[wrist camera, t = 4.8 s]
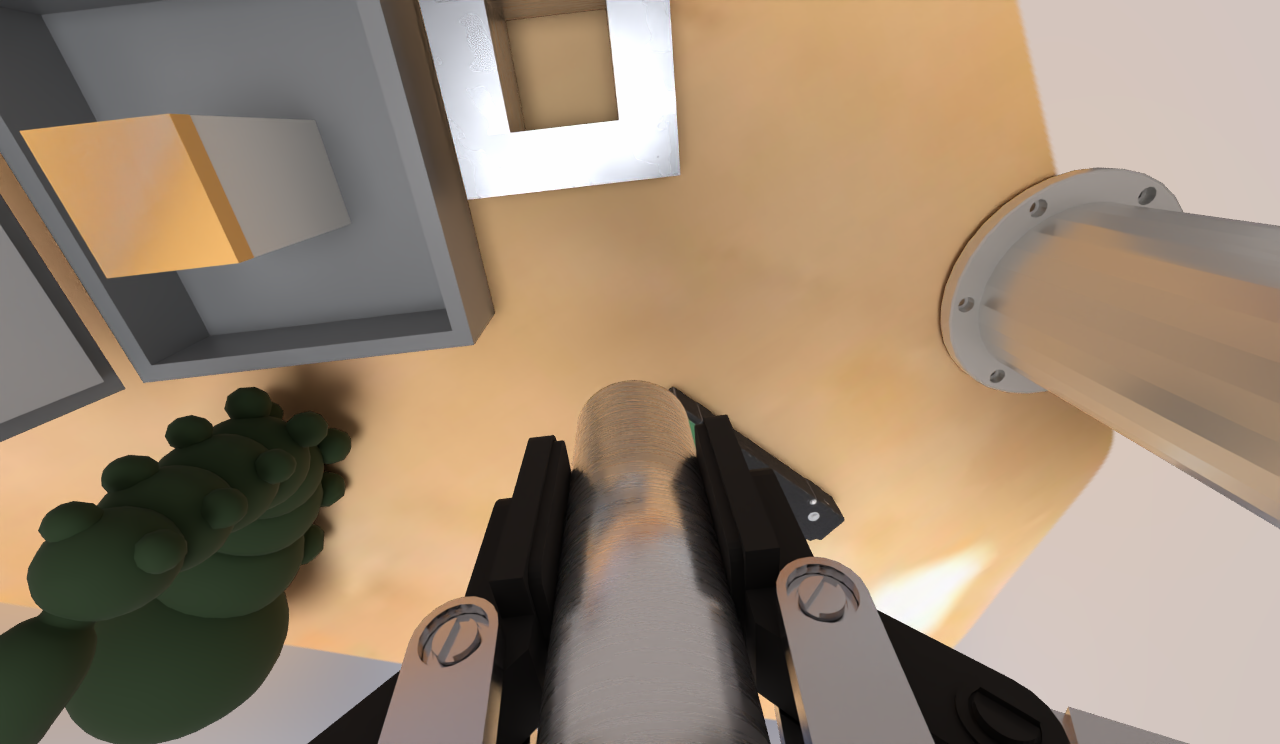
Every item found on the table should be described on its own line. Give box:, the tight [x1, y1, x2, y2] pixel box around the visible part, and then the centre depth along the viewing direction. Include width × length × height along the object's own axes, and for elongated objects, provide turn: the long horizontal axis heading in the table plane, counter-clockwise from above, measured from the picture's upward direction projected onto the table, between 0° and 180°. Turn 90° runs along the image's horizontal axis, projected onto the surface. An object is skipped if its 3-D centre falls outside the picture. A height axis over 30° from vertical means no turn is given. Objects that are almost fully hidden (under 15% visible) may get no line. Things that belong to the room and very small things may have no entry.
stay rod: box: [536, 380, 771, 744], centre depth 9 cm, size 3×3×10 cm
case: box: [0, 0, 495, 383], centre depth 22 cm, size 16×16×4 cm
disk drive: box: [668, 387, 844, 541], centre depth 33 cm, size 10×3×15 cm
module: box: [20, 114, 351, 278], centre depth 19 cm, size 4×4×8 cm
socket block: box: [419, 0, 680, 200], centre depth 20 cm, size 9×9×4 cm
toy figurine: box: [0, 387, 351, 744], centre depth 24 cm, size 9×19×25 cm
